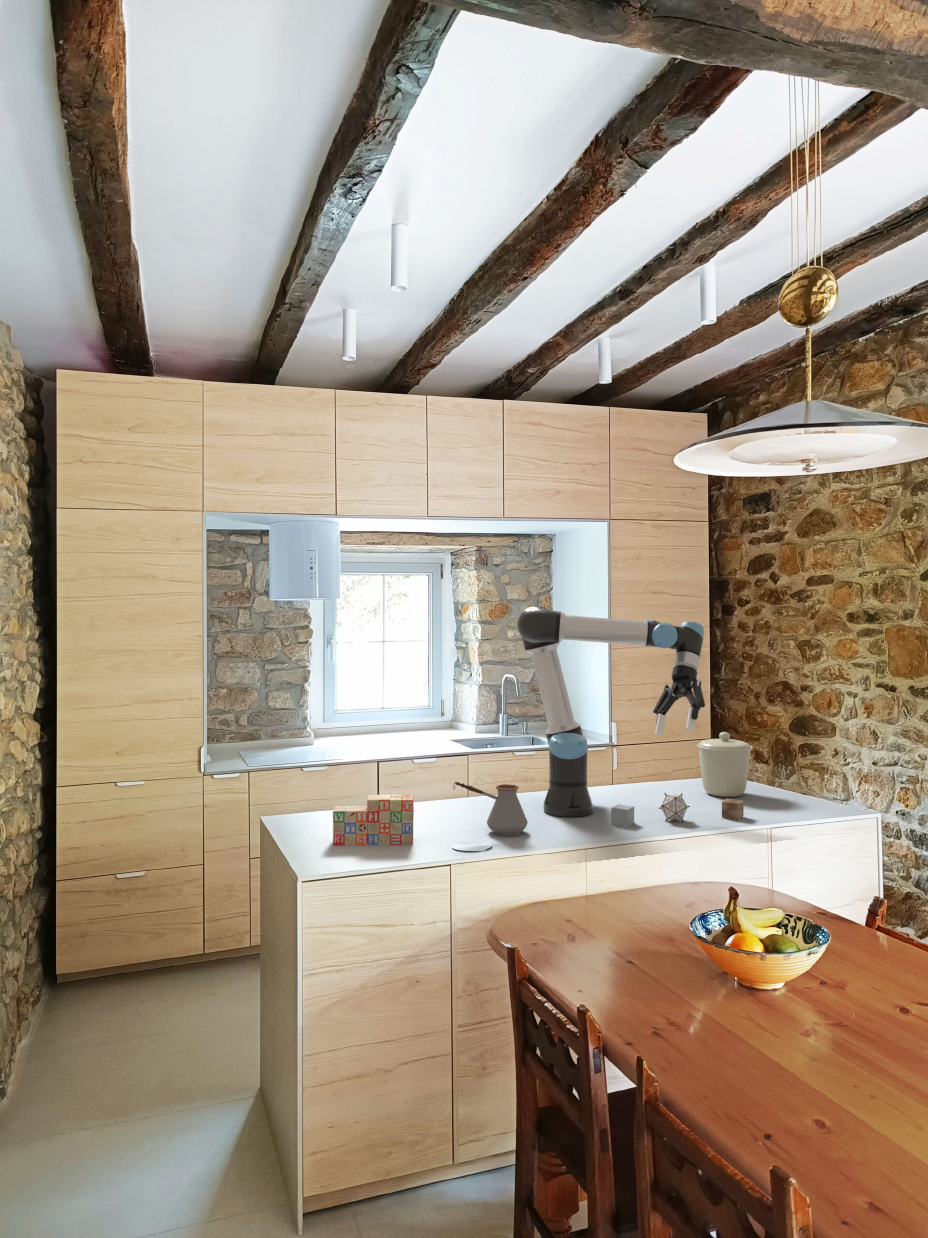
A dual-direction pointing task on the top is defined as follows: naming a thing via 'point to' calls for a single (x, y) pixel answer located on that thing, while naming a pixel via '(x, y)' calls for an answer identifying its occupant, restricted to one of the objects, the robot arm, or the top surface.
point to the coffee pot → (504, 810)
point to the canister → (724, 765)
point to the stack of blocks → (375, 821)
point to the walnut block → (732, 809)
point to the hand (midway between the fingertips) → (674, 732)
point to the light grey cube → (622, 815)
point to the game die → (674, 807)
